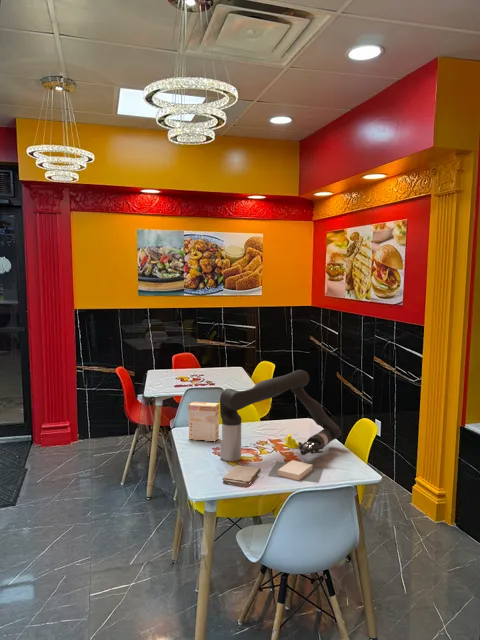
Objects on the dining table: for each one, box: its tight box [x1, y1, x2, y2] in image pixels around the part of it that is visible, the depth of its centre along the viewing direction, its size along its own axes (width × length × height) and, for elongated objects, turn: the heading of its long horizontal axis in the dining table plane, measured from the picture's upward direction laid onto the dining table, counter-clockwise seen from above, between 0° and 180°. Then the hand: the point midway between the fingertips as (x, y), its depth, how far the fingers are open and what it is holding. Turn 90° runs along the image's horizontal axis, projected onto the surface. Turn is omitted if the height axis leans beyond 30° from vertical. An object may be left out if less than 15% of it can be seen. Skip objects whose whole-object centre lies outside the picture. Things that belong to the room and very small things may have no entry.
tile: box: [278, 459, 313, 482], centre depth 208 cm, size 10×2×14 cm
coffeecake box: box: [188, 401, 220, 443], centre depth 255 cm, size 15×7×20 cm, turn 76°
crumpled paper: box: [283, 433, 299, 450], centre depth 243 cm, size 6×8×8 cm
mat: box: [267, 461, 325, 484], centre depth 210 cm, size 22×18×1 cm
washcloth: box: [221, 464, 261, 487], centre depth 205 cm, size 12×18×3 cm, turn 161°
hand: (302, 452), depth 214 cm, fingers closed
